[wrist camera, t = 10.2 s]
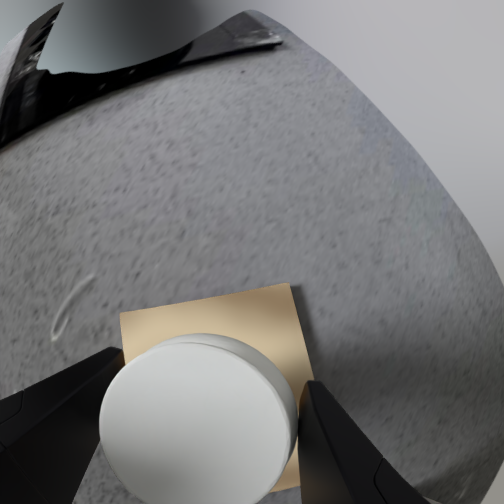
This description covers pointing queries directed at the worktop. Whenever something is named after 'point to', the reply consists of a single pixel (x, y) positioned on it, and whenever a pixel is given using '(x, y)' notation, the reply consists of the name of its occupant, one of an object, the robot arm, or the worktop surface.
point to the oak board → (233, 336)
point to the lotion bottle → (431, 501)
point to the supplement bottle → (199, 422)
